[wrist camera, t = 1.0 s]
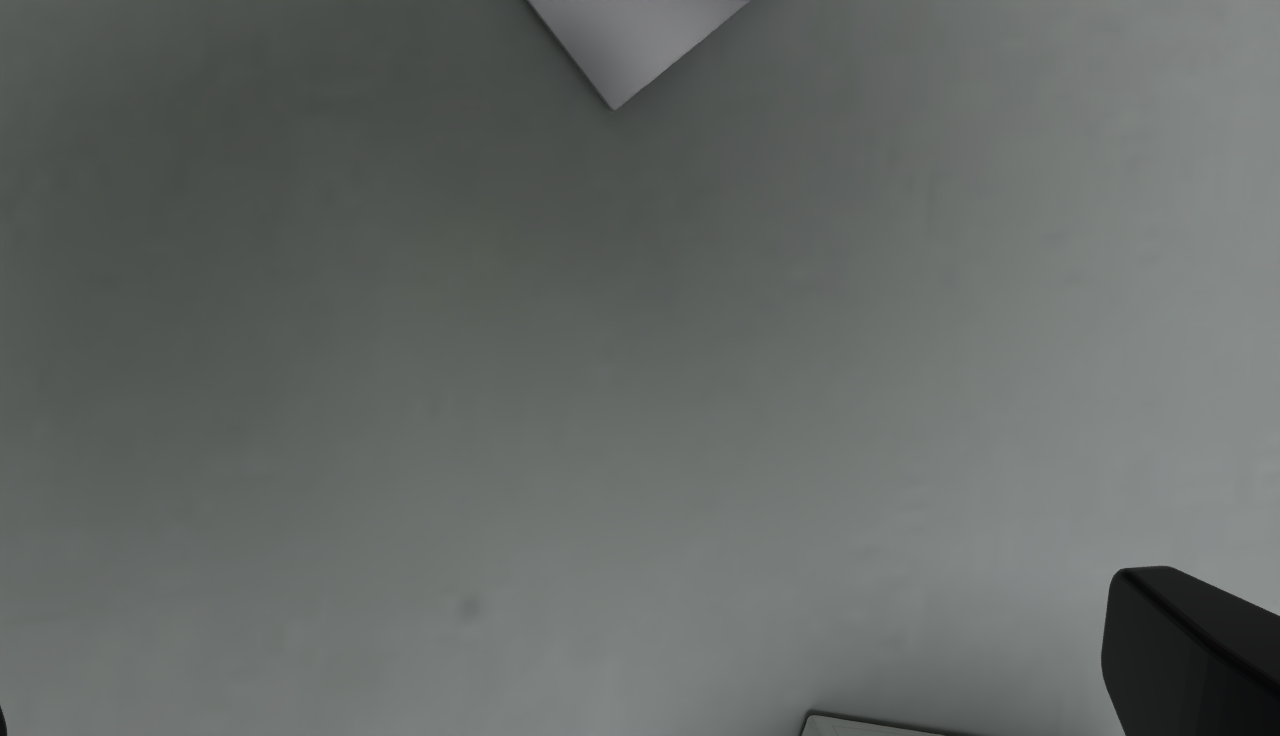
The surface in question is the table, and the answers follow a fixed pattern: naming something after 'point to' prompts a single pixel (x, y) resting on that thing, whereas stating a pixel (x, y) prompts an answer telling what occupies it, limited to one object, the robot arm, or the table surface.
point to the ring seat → (629, 37)
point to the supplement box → (852, 728)
